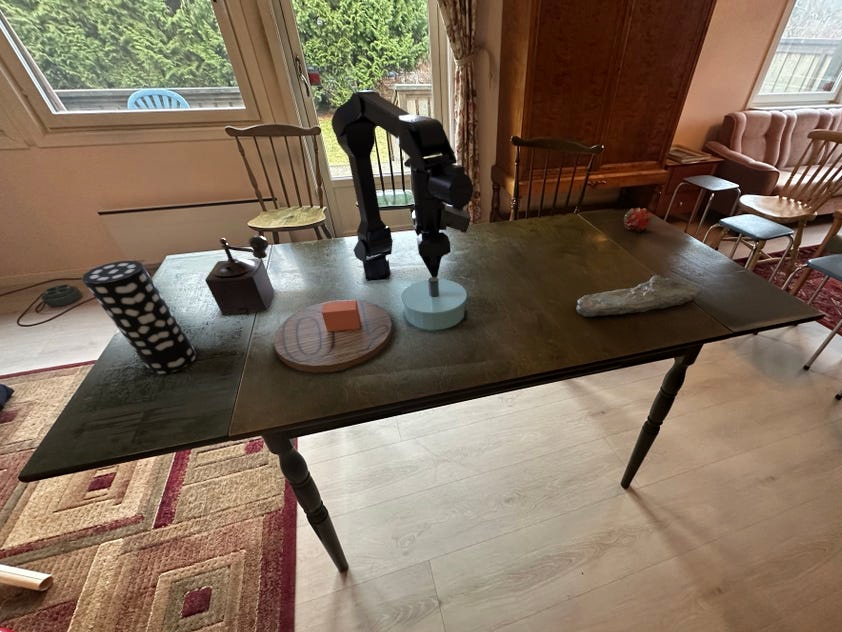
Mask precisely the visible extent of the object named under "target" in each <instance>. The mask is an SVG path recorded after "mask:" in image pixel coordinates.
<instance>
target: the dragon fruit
mask: <svg viewBox="0 0 842 632" xmlns="http://www.w3.org/2000/svg"><path fill="white" fill-rule="evenodd" d="M651 217H652V213H651V212H650V211H648V208H646V207H644V208H642V209H641V208H640V207H637V208H631V209H629V210H628V211H627V212H626V213H625V214H624V216H623V221H622V224H623V225H624V227H625V228H626V229H628V230H629V231H633V230H635V229H638V230H635V231H636V232H640V231H644V230H646V228H647V227H648V226H649V225H650V224H651V221H652V218H651ZM630 227H631V228H634V229H631V228H630ZM640 229H641V230H640ZM639 230H640V231H639Z"/></svg>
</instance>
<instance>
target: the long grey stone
mask: <svg viewBox="0 0 842 632" xmlns="http://www.w3.org/2000/svg"><path fill="white" fill-rule="evenodd" d="M698 295H699V288H698V287H696V285H694V284H692V283H689V282H683V281H681V280H678V279H676V278H670V277H667V278H666V277H662V276H661V275H653V276H652V277H650V279H649V280H648V281H646V282H644V283H639V284H638V285H637V286H635V287H630V288H622V289H621V288H619V289H614V290H611V291H610V290H609V291H603V292H597V293H592V294H584V295H583V296H582V297H580V298H579V299H577V301H576V304H577V305H576V312H577V313H578V314H580V316H582V317H586V318H591V317H598V316H600V317H604V316H605V317H606V316H612V315H613V316H614V315H620V316H621V315H623V314H634V313H644V312H647V311H650V310H655V309H656V310H657V309H665V308H669V307H673V306H681V305H684V303H687V302H691V301H692V300H695V299H696V298H697V296H698Z"/></svg>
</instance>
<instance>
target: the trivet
mask: <svg viewBox="0 0 842 632" xmlns="http://www.w3.org/2000/svg"><path fill="white" fill-rule="evenodd" d="M354 300H356V301H357V305H358V309H359V314H360V318H361V319H360V329H350V330H339V331H329V332H327V329H326V326H325V322H324V319H323V316H322V309H323V304H324V303H330V302H342V301H354ZM392 333H393V324H392V320H391V317H390V315H389V313H388V312H387V311H386V310H385V309H384V308H382V307H381V306H378V305H377V304H375V303H372V302H369V301H366V300H359V299H336V300H329V301H328V300H327V301H324V302H320V303H316V304H313V305H310V306H307V307H305V308H303V309H300V310H298V311H297V312H295V313H293V314H291V316H288V317H287V318H286V319H285V320H284V321H283V322H282V323H281V324H280V325H278V327H277V329H276V331H275V332H274V335H273V346H274V348H275V351H276V353H277V355H278V358H279V359H280V360H281V362H283V364H286V366H288V367H290V368H293V369H294V370H297V371H300V372H308V373H315V374H317V373H318V374H319V373H335V372H339V371H345V370H347V368H350V367H353V366H355V365H358V364H361V363H363V362H365V361H367V360H368V359H370V358H372V357H374V356H376V355H377V354H378V353H379V352H380V351H382V350H383V348H385V347H386V346H387V344H388V342H389V341H390V339H391V338H392Z"/></svg>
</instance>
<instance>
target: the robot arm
mask: <svg viewBox="0 0 842 632" xmlns="http://www.w3.org/2000/svg"><path fill="white" fill-rule="evenodd" d="M331 127H332V128H331V129H332V131H333V133H334V135H335V138H336V142H337V144H338V146H339V147H340V148H341V150H342V151H343V152H344V153H345V155H347V158H348V162H349V167H350V173H351V177H352V182H353V187H354V192H355V197H356V202H357V206H358V211H359V216H360V221H359V225H358V227H357V231H356V235H357V242H356V244H355V245H354V248H353V253H354V255H355V258H356V259H357V260H359V261H360V262H362V266H363V271H364V276H365V277H364V281H365V282H372V281H373V282H374V281H385V280H389V279H390V276H391V266H390V265H391V264H390V259H389V258H388V257H387V256H391V255H392V252H393V243H394V240H393V238H392V230H391V228H390V227H389V226H387V225H386V223H384V221H383V220H382V217H381V212H380V205H379V199H378V194H377V193H378V192H377V187H376V181H375V176H374V170H373V165H372V159H371V155H372V151H373V149H374V145H375V142H376V139H375V138H376V137H375V130H376V129H377V127H379V128H381V129H382V130H384V131H385V132H387V133H388V134H390V135H391V136H393V137H394V138H396V140H397V144H398V148H400V149H401V150H402V151H403V153H405V155H407V157H408V158H407V159H406V160H405V161H404V162H403V165H404V167H406V168H410V177H411V188H412V202H413V212H411V215H412V216H411V217H412V223H413V224H412V225H413V228H414V232H415V234H416V236H417V238H416V244H417V251H418V255H419V256H420V258H421V259H422V262H423V263H424V265H425V266H426V269H427V270H428V272H429V274H430V276H431V277H433V278H435V277H437V278H438V275H439V271H440V266H441V262H442V258H443V257H444V256H447V255H448V254H450V253H451V241H450V238H449V236H448V235H447V234H446V233H445V232H443V231H447V228H449V229H453V230H457V231H460V232H461V233H464V234H466V233H467V231H468V229H469V227H470V223H471V221H472V217H471V214H470V213H469V212H468V211H467V210H466V209H463V208H465V207H466V206H467V205H468V204H469V203H470V202H471V200H472V197H473V194H474V184H473V181H472V179H471V178H470V176H469V175H468V174H466V169H465V166H464V165H461V164H457V163H458V160H457V157H456V155H455V151H454V149H453V147H452V145H451V143H450V140H449V139H448V136H447V133H446V131H445V129H444V125H443V124H442V123H441V121H440V120H438V119H437V118H433V117H429V116H425V115H416V114H412V113H409V112H407V111H406V110H404V109H402V108H401V107H399V106H398V105H396V104H394V103H393V102H391V101H389V100H388V99H386V98H384V97H383V96H381V95H380V93H378V92H377V91H375V90H372V89H371V90H356V91H354V92H353V93H352V94H351V95H350V97H349V99H348V100H346V101H345V102H343V104H341V105H340V106H338V107H337V108H336V110H335V112H334V114H333V115H332V117H331ZM441 231H442V232H441Z"/></svg>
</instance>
